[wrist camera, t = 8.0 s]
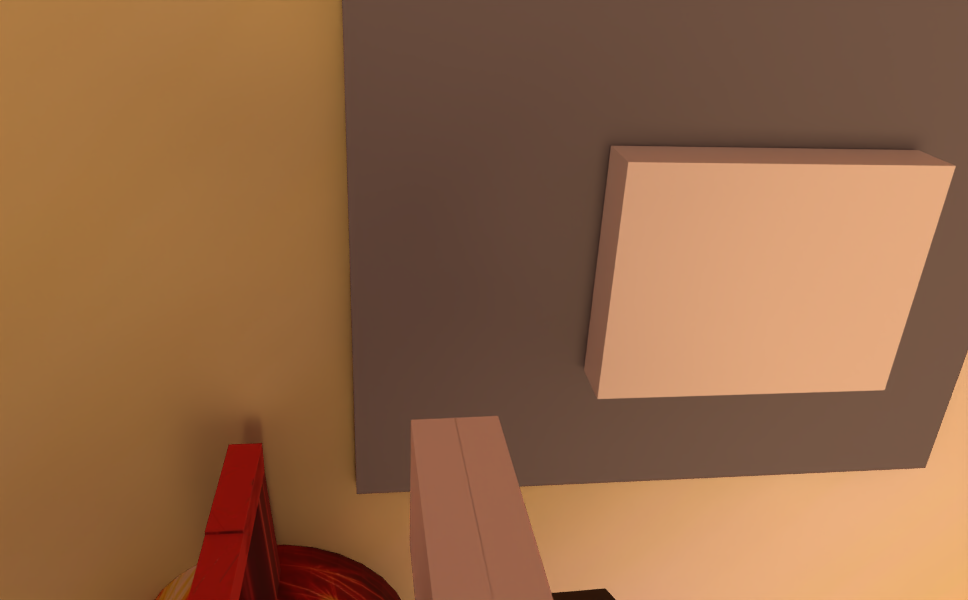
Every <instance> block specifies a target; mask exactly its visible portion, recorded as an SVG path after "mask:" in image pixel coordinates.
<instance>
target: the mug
mask: <svg viewBox="0 0 968 600" xmlns="http://www.w3.org/2000/svg"><path fill="white" fill-rule="evenodd" d="M264 471H265V470H264V460H263V449H262V443H258V444H230V445H229V446H228V450H227V453H226V457H225V461H224V464H223V468H222V471H221V475H220V479H219V482H218V486H217V490H216V493H215V497H214V500H213V504H212V508H211V511H210V515H209V519H208V522H207V526H206V529H205V538H204V541H203V545H202V549H201V552H200V556H199V560H198V563H197V565H195V566H194V567H192V568H190V569H188V570H187V571H185V572H183V573H182V574H180V575H179V576H178V577H176V578H175V579H174V580H173V581H172V582H171V583H170V584H168V585H167V586H166V587H165V588H164V589H163V590H162V591H161V592H160V593H159V595H158V596H157V598H156V599H155V600H401V599H400V597H399V596H398V594H397V592H396V591H395V590H394V589H393V588H392V587H391V586H390V585H389V584H388V583H387V582H386V581H385V580H384V579H383V578H382V577H381V576H379V575H378V574H376V573H375V572H373V571H372V570H371V569H369V568H368V567H366V566H365V565H363V564H361V563H359V562H357V561H354V560H352V559H350V558H347V557H345V556H343V555H340V554H338V553H334V552H330V551H326V550H322V549H318V548H314V547H304V546H294V545H277V544H276V538H275V532H274V526H273V520H272V514H271V508H270V502H269V496H268V490H267V484H266V478H265V472H264Z"/></svg>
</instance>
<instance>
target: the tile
mask: <svg viewBox="0 0 968 600" xmlns="http://www.w3.org/2000/svg"><path fill="white" fill-rule="evenodd" d="M955 167H956V166H955V165H952V164H950V163H948V162H945V161H943V160H941V159H938V158H936V157H933V156H931V155H929V154H926V153H924V152H922V151H919V150H878V149H809V148H741V147H672V146H611V149H610V158H609V166H608V174H607V183H606V191H605V199H604V208H603V216H602V224H601V233H600V241H599V249H598V258H597V266H596V274H595V283H594V291H593V299H592V308H591V316H590V324H589V333H588V341H587V350H586V358H585V366H584V372H585V374H586V376H587V378H588V380H589V382H590V384H591V386H592V389H593V391H594V393H595V395H596V397H597V399H615V398H648V397H680V396H713V395H745V394H777V393H810V392H842V391H874V390H885V387H886V384H887V381H888V378H889V375H890V371H891V368H892V365H893V362H894V359H895V356H896V353H897V349H898V346H899V343H900V340H901V337H902V334H903V331H904V327H905V324H906V321H907V318H908V315H909V312H910V309H911V305H912V302H913V299H914V296H915V293H916V290H917V287H918V283H919V280H920V277H921V274H922V271H923V268H924V265H925V261H926V258H927V255H928V252H929V249H930V246H931V243H932V239H933V236H934V233H935V230H936V227H937V224H938V221H939V217H940V214H941V211H942V208H943V205H944V202H945V199H946V195H947V192H948V189H949V186H950V183H951V180H952V177H953V173H954V170H955Z"/></svg>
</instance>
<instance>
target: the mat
mask: <svg viewBox="0 0 968 600" xmlns="http://www.w3.org/2000/svg"><path fill="white" fill-rule="evenodd" d="M342 9H343V43H344V77H345V111H346V145H347V179H348V213H349V248H350V282H351V316H352V350H353V384H354V418H355V452H356V486H357V494H367V493H389V492H410V474H411V420H418V419H440V418H461V417H483V416H498V417H499V421H500V424H501V427H502V431H503V434H504V437H505V441H506V444H507V447H508V451H509V454H510V457H511V461H512V464H513V467H514V471H515V474H516V477H517V481H518V484H519V487H520V486H542V485H563V484H585V483H607V482H629V481H650V480H672V479H694V478H716V477H738V476H759V475H781V474H803V473H825V472H846V471H868V470H890V469H912V468H925V467H926V464H927V461H928V459H929V456H930V453H931V450H932V448H933V445H934V442H935V439H936V437H937V434H938V431H939V428H940V426H941V423H942V420H943V417H944V415H945V412H946V409H947V406H948V404H949V401H950V398H951V395H952V393H953V390H954V387H955V384H956V382H957V379H958V376H959V373H960V371H961V368H962V365H963V362H964V360H965V357H966V354H967V351H968V0H342ZM611 146H672V147H741V148H809V149H878V150H919V151H922V152H924V153H926V154H929V155H931V156H933V157H936V158H938V159H941V160H943V161H945V162H948V163H950V164H952V165H955V166H956V167H955V170H954V173H953V177H952V180H951V183H950V186H949V189H948V192H947V195H946V199H945V202H944V205H943V208H942V211H941V214H940V217H939V221H938V224H937V227H936V230H935V233H934V236H933V239H932V243H931V246H930V249H929V252H928V255H927V258H926V261H925V265H924V268H923V271H922V274H921V277H920V280H919V283H918V287H917V290H916V293H915V296H914V299H913V302H912V305H911V309H910V312H909V315H908V318H907V321H906V324H905V327H904V331H903V334H902V337H901V340H900V343H899V346H898V349H897V353H896V356H895V359H894V362H893V365H892V368H891V371H890V375H889V378H888V381H887V384H886V387H885V390H874V391H842V392H810V393H777V394H745V395H713V396H680V397H648V398H615V399H597V397H596V395H595V393H594V391H593V389H592V386H591V384H590V382H589V380H588V378H587V376H586V374H585V372H584V366H585V358H586V350H587V341H588V333H589V324H590V316H591V308H592V299H593V291H594V283H595V274H596V266H597V258H598V249H599V241H600V233H601V224H602V216H603V208H604V199H605V191H606V183H607V174H608V166H609V158H610V149H611Z"/></svg>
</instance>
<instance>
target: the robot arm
mask: <svg viewBox="0 0 968 600" xmlns="http://www.w3.org/2000/svg"><path fill="white" fill-rule="evenodd" d="M410 551H411V561H412V572H413V582H414V593H415V600H615V598H614V597H613V596H612V595H611V594H610V593H609V592H608V591H607V590H606V589H595V590H583V591H571V592H559V593H551V590H550V587H549V584H548V580H547V577H546V574H545V570H544V567H543V564H542V560H541V557H540V554H539V550H538V547H537V544H536V540H535V537H534V534H533V530H532V527H531V524H530V521H529V517H528V514H527V511H526V507H525V504H524V501H523V497H522V494H521V491H520V487H519V484H518V481H517V477H516V474H515V471H514V467H513V464H512V461H511V457H510V454H509V451H508V447H507V444H506V441H505V437H504V434H503V431H502V427H501V424H500V421H499V417H498V416H483V417H461V418H440V419H418V420H411V474H410Z"/></svg>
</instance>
